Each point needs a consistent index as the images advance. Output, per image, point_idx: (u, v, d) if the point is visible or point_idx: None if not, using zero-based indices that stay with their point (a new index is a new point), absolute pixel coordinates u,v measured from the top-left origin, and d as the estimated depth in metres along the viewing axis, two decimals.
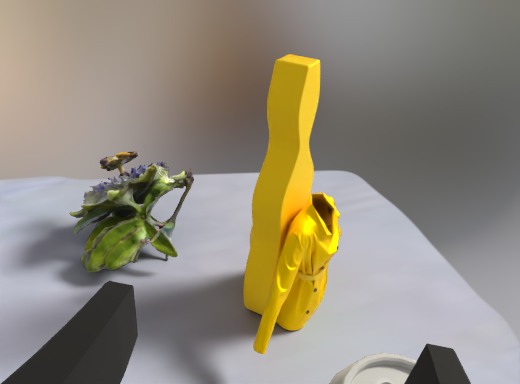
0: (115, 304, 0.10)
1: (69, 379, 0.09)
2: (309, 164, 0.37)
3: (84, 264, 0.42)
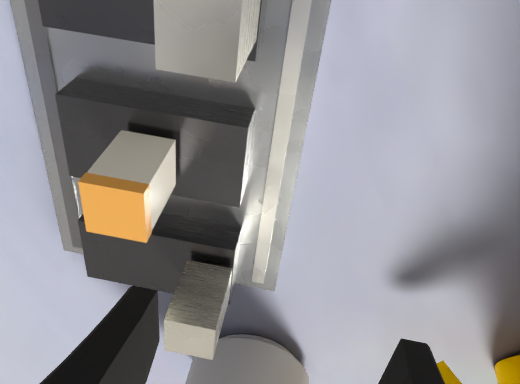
0: (141, 309, 0.10)
1: None
2: None
3: None
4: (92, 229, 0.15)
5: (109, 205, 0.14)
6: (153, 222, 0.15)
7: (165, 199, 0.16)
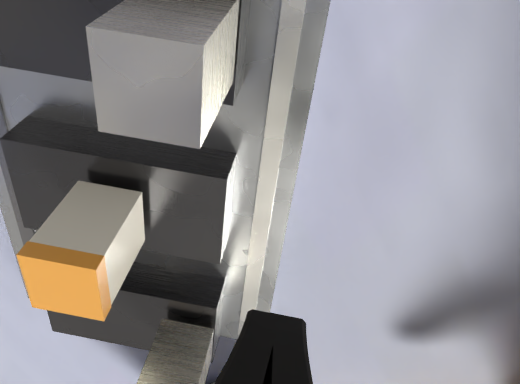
0: (270, 335, 0.10)
1: None
2: None
3: None
4: (39, 305, 0.12)
5: (56, 281, 0.12)
6: (113, 294, 0.13)
7: (130, 262, 0.14)
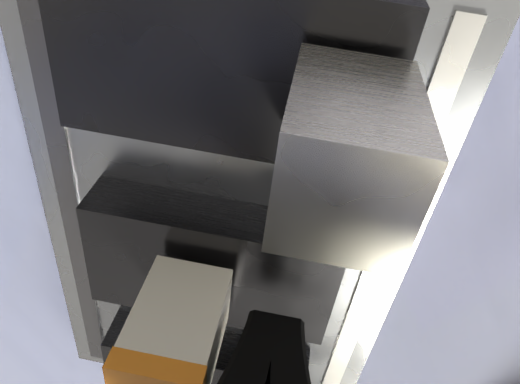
0: (271, 335, 0.10)
1: None
2: None
3: None
4: None
5: None
6: None
7: (218, 351, 0.12)
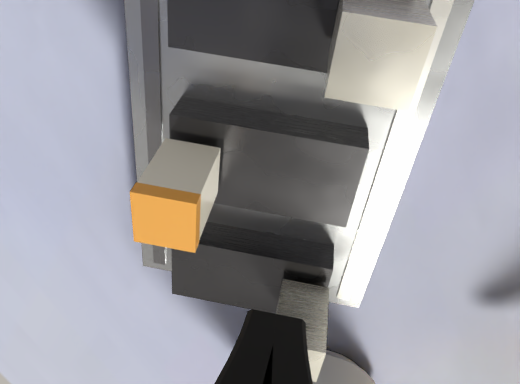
0: (270, 335, 0.10)
1: None
2: None
3: None
4: (140, 239, 0.15)
5: (160, 215, 0.14)
6: (200, 232, 0.15)
7: (210, 208, 0.16)
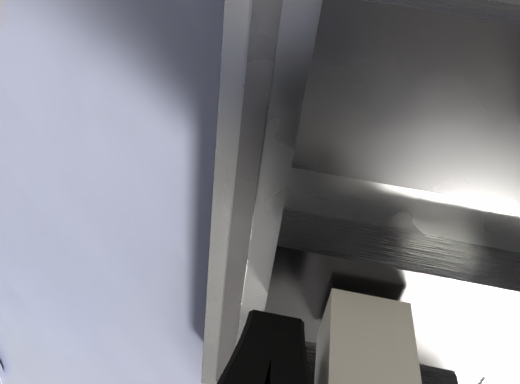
0: (271, 335, 0.10)
1: None
2: None
3: None
4: None
5: None
6: None
7: None
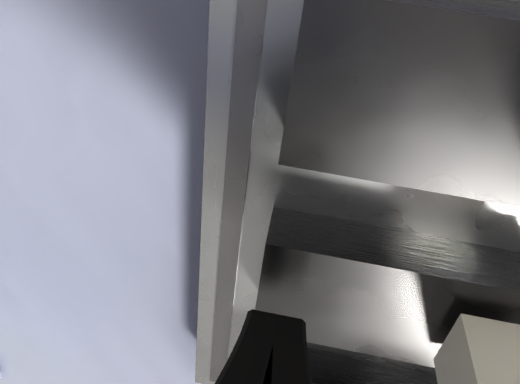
0: (270, 335, 0.10)
1: None
2: None
3: None
4: None
5: None
6: None
7: None
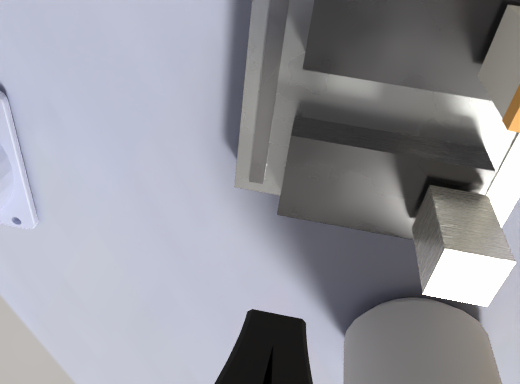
0: (270, 335, 0.10)
1: None
2: None
3: None
4: (517, 128, 0.11)
5: None
6: None
7: None
